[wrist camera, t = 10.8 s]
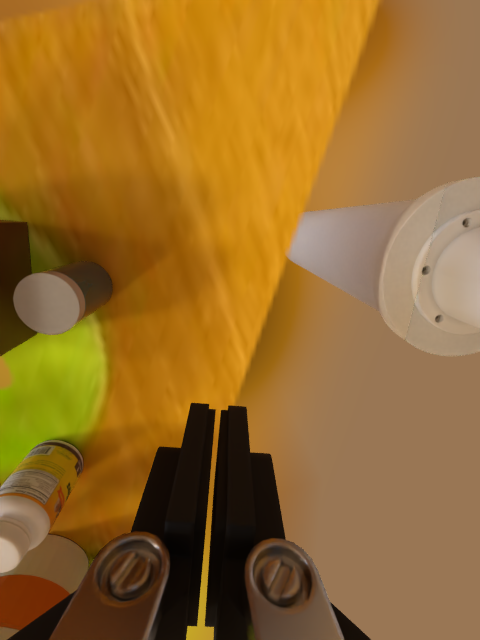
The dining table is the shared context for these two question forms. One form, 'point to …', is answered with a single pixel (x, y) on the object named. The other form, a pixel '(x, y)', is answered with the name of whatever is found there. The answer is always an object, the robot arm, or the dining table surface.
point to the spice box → (13, 282)
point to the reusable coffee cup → (39, 582)
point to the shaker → (61, 296)
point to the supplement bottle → (35, 498)
